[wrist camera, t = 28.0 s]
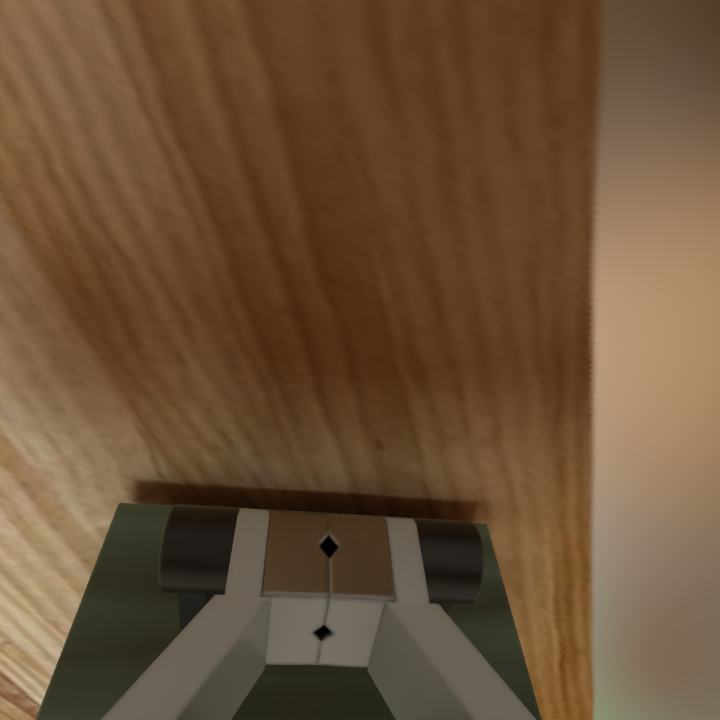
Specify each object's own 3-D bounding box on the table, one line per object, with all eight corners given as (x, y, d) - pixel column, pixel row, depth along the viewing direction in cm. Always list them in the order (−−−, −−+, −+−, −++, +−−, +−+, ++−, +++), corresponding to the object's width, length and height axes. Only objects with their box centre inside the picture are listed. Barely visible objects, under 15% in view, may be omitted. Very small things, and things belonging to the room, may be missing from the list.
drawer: (97, 355, 14) (-91, 682, 8) (539, 393, 15) (687, 698, 9) (149, 725, 25) (89, 985, 19) (404, 729, 27) (428, 973, 20)
